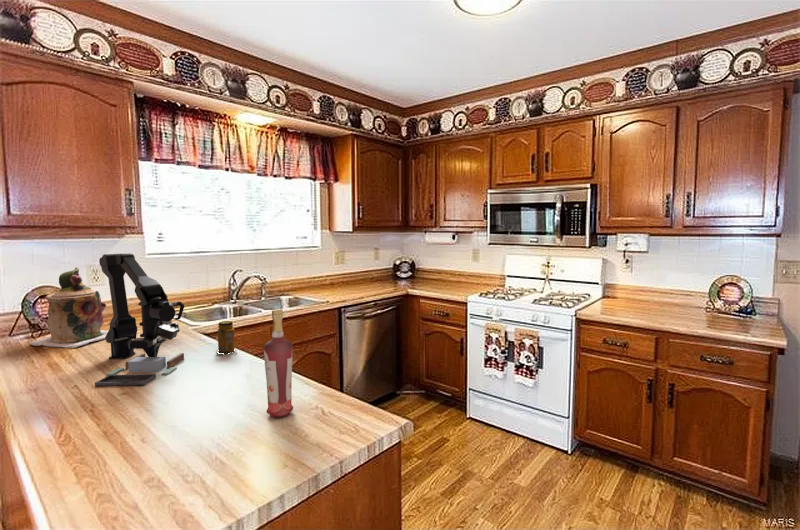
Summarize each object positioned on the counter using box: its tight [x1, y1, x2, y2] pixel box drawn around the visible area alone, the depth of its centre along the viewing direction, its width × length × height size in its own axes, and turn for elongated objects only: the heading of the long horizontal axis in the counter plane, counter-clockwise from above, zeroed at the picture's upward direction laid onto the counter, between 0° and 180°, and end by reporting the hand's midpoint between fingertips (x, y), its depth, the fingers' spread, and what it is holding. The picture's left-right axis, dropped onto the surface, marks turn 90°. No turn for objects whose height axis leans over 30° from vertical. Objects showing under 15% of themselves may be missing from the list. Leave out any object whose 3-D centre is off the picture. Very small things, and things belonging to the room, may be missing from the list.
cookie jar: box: [28, 267, 109, 349], centre depth 183 cm, size 25×25×32 cm
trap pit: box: [94, 373, 157, 388], centre depth 134 cm, size 15×7×1 cm, turn 92°
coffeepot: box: [161, 301, 185, 340], centre depth 189 cm, size 15×9×18 cm, turn 118°
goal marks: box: [106, 366, 177, 376], centre depth 143 cm, size 20×6×1 cm, turn 92°
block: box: [128, 356, 167, 373], centre depth 146 cm, size 10×5×4 cm, turn 93°
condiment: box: [215, 320, 238, 356], centre depth 165 cm, size 7×8×12 cm
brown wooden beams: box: [124, 352, 185, 370], centre depth 151 cm, size 15×10×2 cm, turn 92°
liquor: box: [263, 308, 294, 419], centre depth 109 cm, size 7×7×28 cm
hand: (153, 361), depth 150 cm, fingers closed
